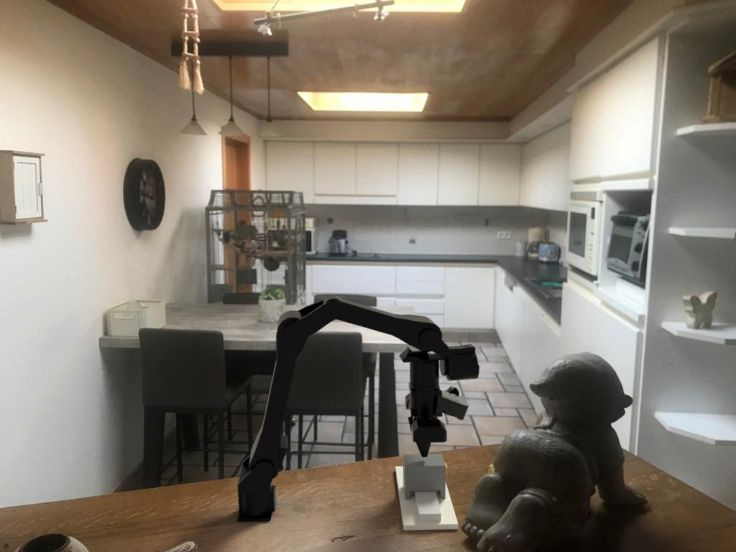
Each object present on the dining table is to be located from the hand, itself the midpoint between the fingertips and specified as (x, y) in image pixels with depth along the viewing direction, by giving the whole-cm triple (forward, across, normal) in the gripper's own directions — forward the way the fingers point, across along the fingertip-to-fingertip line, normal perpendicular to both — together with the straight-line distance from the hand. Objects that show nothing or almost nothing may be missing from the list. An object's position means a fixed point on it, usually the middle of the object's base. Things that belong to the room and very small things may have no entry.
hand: (424, 456), depth 112 cm
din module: (+8, 0, 0) cm, 8 cm away
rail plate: (+9, 0, 0) cm, 9 cm away
